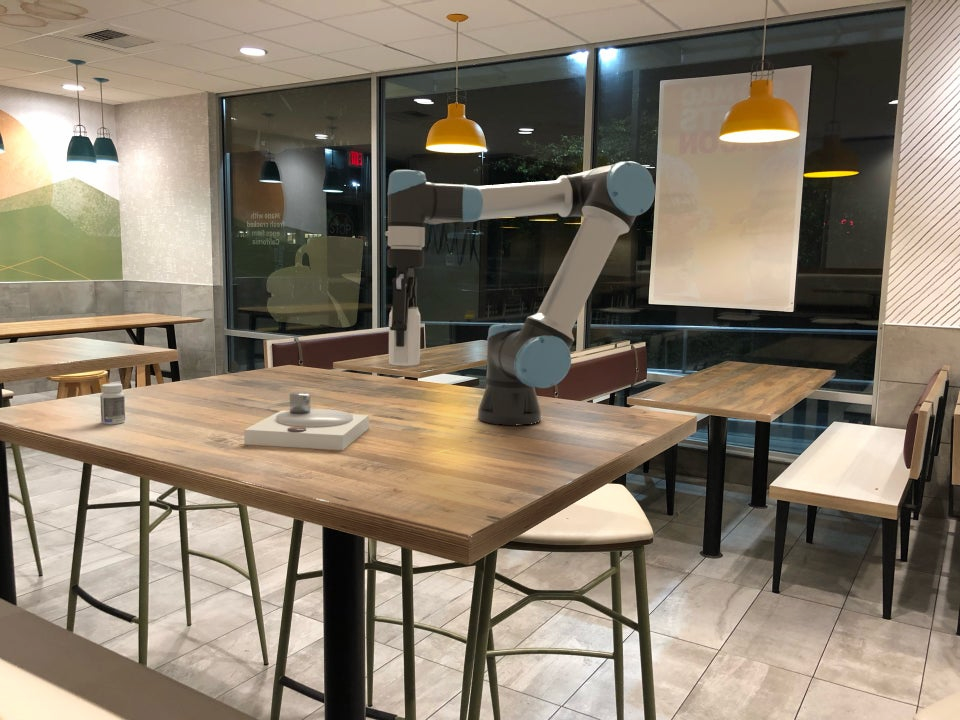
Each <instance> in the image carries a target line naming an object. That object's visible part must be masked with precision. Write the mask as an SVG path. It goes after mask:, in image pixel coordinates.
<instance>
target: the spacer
mask: <svg viewBox="0 0 960 720" xmlns="http://www.w3.org/2000/svg"><path fill="white" fill-rule="evenodd" d="M310 409H311V393H310V392H306V391H305V392H304V391H302V392H301V391H299V392H298V391H296V392H291V393H289V411H290V413H292V414H307V413H310Z"/></svg>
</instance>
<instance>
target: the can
mask: <svg viewBox="0 0 960 720" xmlns="http://www.w3.org/2000/svg"><path fill="white" fill-rule="evenodd" d="M392 307H393V306H390V308H391V309H390V312H389V316H388V317H389V318H388V364H390V366H393V367H401V368H403V367H405V368H406V367H407V368H408V367H417V366H418V365H419V364H420V360H421V313H420V311H419V307H418V306H417V307H410V308H408V319H407V330H406V331H408V363H398V362H394V330H390V327H392Z"/></svg>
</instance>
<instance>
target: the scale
mask: <svg viewBox="0 0 960 720" xmlns="http://www.w3.org/2000/svg"><path fill="white" fill-rule="evenodd" d="M369 427H370V415H369V414H357V413H356V414H355V413H350V412H347V411H344V410H339V409H326V408H310V413H307V414H292V413H290V410H279V411H278V412H276V413H273V414H271V415H270V416H268V417H266V418H264V419H262V420H259V421H258V422H256V423H253V425H250V426H248V427H247V428H244V431H243V434H244V435H243V437H244V438H243V439H244V441H243V442H244V446H245V445H247V446H262V447H263V446H264V447H265V446H266V447H281V448H296V449H297V448H298V449H314V450H315V449H316V450H328V451H329V450H333V451H344V450H346V448H347V447H349V446H350V445H351V444H352V443H353V442H354V441H356V440H357V439H358V438H359V437H361V436H362V435H363V434H364V433H365V432H366V431H367V430H369V429H370V428H369Z"/></svg>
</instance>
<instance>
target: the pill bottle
mask: <svg viewBox="0 0 960 720" xmlns="http://www.w3.org/2000/svg"><path fill="white" fill-rule="evenodd" d="M122 391H123V384H122V383H119V382H118V383H116V382H114V383H104V384H102V385H101V392H102V393H101V394H100V397H99V398H100V400H99V401H100V420H101V423H102V424H103V425H119V424H122V423H125V422H126V404H125V400H126V399H125V393H124V392H122Z"/></svg>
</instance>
